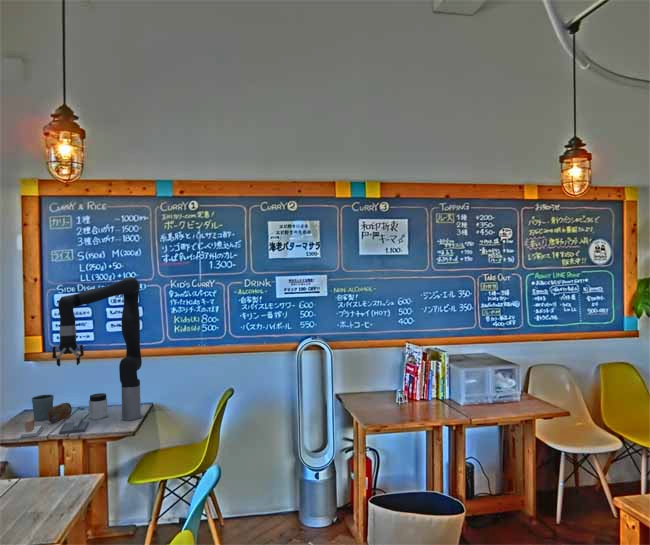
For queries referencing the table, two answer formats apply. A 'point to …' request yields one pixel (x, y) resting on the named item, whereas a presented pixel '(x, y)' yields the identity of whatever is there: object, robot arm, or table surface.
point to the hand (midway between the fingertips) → (68, 365)
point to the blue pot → (42, 406)
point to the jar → (98, 406)
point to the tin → (59, 412)
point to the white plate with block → (31, 429)
